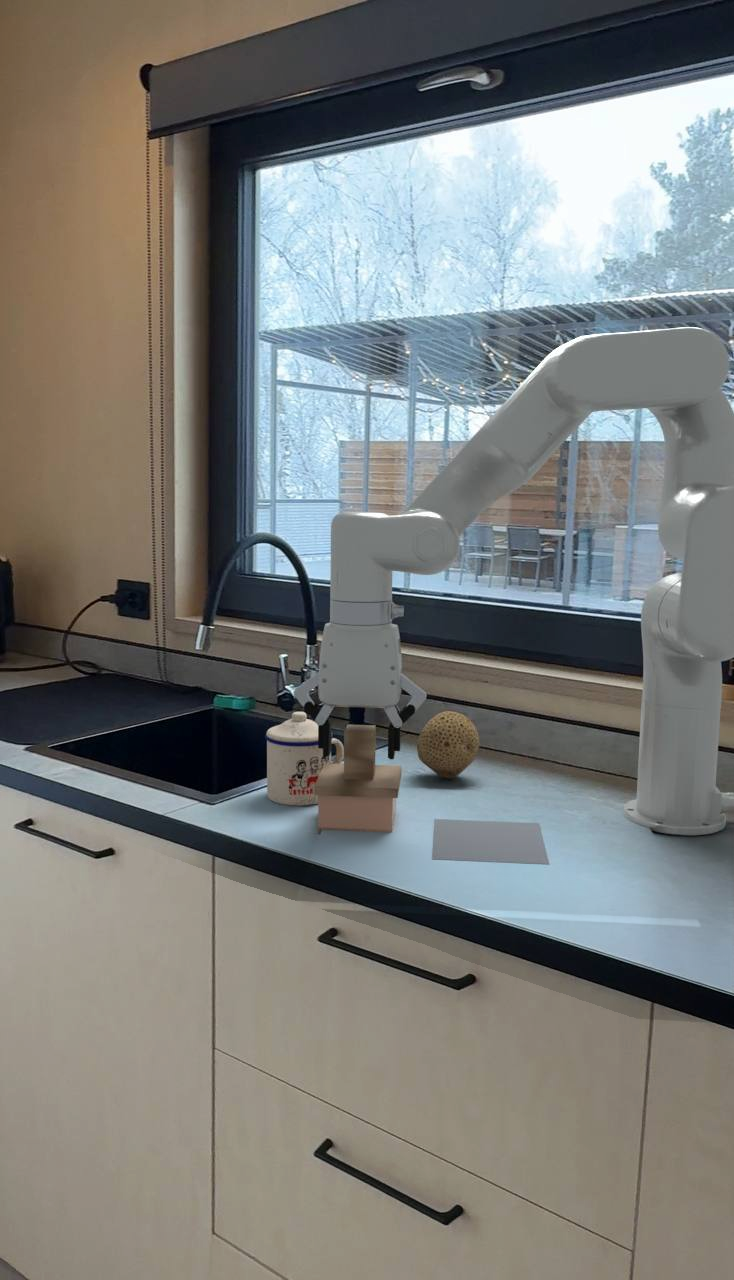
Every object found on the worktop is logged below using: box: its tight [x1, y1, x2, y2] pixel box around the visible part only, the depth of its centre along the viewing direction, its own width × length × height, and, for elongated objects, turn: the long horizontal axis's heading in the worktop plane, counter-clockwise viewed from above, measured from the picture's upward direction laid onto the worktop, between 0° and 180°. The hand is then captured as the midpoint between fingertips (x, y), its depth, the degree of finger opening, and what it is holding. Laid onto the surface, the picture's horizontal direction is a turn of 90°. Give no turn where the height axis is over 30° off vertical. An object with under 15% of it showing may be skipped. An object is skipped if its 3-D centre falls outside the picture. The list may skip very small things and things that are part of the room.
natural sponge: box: [416, 710, 480, 780], centre depth 147 cm, size 9×9×10 cm
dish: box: [317, 795, 398, 835], centre depth 128 cm, size 9×9×5 cm
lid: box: [314, 724, 403, 799], centre depth 127 cm, size 10×10×7 cm
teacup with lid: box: [264, 711, 344, 807], centre depth 139 cm, size 12×9×12 cm
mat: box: [431, 818, 550, 866], centre depth 121 cm, size 13×14×1 cm
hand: (359, 754), depth 127 cm, fingers open, 7 cm apart
